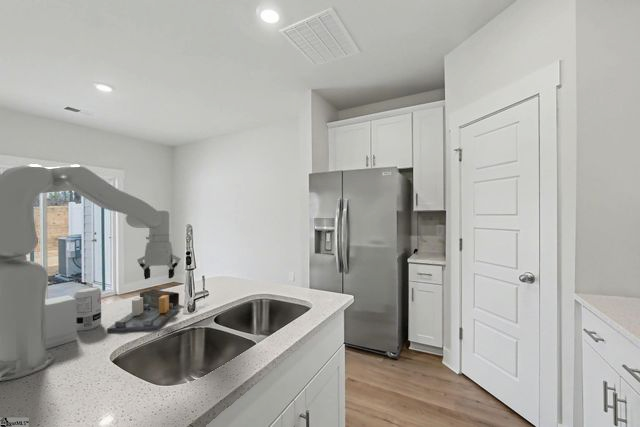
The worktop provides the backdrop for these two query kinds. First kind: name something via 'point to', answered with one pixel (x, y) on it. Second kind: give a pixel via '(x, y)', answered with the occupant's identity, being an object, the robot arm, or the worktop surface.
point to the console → (144, 320)
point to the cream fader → (137, 306)
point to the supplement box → (60, 320)
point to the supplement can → (88, 308)
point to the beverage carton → (154, 295)
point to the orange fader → (163, 303)
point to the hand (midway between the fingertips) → (159, 278)
